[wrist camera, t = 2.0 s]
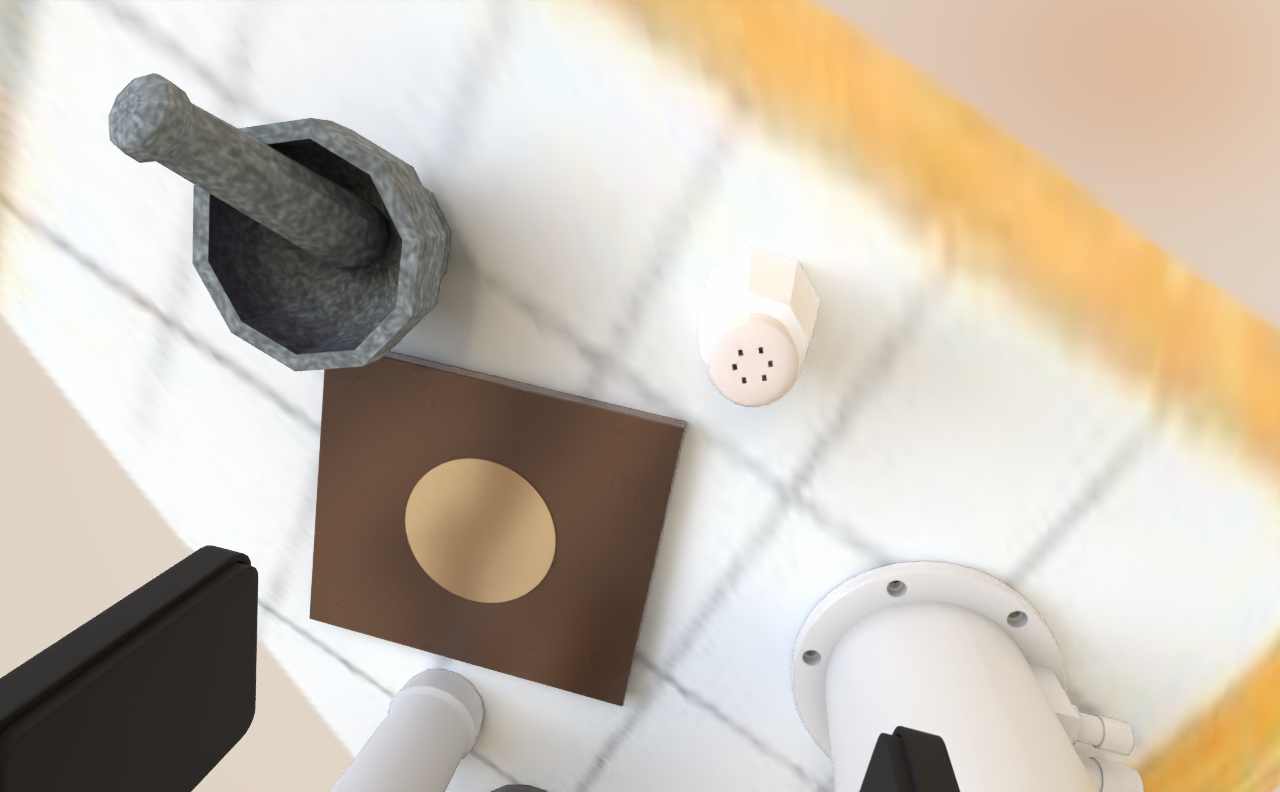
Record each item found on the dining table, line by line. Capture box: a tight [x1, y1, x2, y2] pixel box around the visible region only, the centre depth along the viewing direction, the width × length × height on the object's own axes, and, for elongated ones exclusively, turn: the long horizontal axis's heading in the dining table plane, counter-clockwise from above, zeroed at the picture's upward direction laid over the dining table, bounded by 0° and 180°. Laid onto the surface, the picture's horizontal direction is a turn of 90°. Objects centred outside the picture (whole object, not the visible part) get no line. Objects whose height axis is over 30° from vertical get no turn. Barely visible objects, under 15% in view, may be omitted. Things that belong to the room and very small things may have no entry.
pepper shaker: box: [698, 247, 820, 407], centre depth 28 cm, size 5×5×11 cm
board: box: [310, 351, 686, 706], centre depth 38 cm, size 18×16×1 cm
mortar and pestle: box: [109, 73, 451, 371], centre depth 29 cm, size 11×9×12 cm
